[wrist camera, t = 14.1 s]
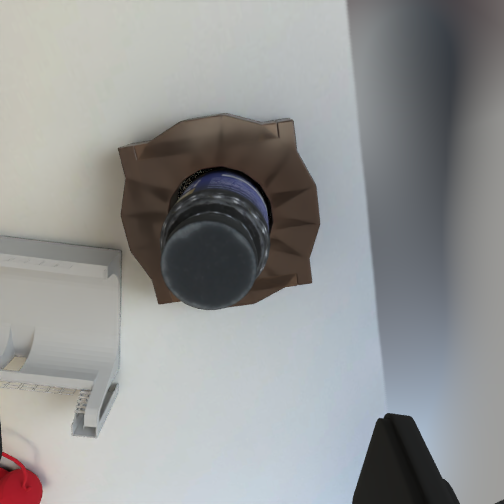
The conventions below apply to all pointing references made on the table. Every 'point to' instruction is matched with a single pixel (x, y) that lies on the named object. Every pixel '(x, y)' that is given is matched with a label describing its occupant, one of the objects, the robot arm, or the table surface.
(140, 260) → the ring
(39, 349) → the skate ramp
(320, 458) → the table surface
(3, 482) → the alarm clock
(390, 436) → the robot arm
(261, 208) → the pill bottle
